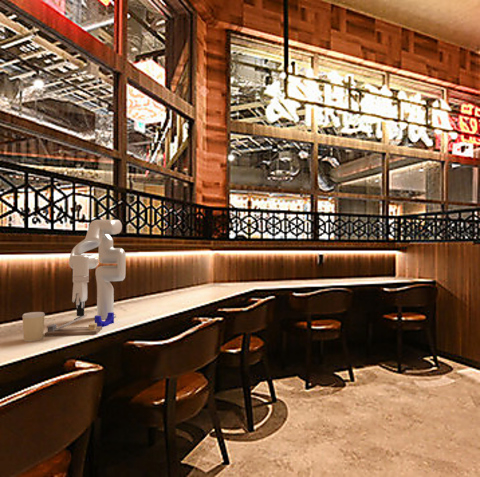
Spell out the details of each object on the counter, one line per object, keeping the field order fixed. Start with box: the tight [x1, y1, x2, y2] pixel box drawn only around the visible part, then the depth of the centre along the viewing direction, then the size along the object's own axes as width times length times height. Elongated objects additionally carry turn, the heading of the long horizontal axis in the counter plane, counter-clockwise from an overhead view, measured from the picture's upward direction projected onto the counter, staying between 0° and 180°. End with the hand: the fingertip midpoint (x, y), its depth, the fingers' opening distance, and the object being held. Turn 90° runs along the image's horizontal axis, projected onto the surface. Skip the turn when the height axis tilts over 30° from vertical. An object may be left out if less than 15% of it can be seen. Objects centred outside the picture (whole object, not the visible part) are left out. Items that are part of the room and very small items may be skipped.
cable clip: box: [94, 312, 115, 328], centre depth 204 cm, size 12×4×6 cm, turn 160°
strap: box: [55, 313, 88, 331], centre depth 186 cm, size 16×5×1 cm, turn 98°
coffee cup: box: [21, 311, 46, 342], centre depth 173 cm, size 9×9×12 cm
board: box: [44, 322, 103, 337], centre depth 186 cm, size 12×24×4 cm, turn 97°
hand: (80, 315), depth 186 cm, fingers closed
